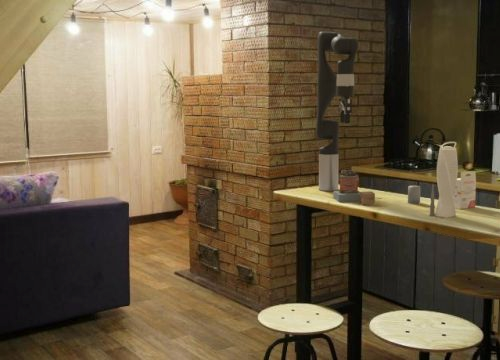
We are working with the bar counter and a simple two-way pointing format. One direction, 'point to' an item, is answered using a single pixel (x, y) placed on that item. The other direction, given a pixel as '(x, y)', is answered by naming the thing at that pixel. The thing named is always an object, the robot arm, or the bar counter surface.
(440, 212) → the skyscraper
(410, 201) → the grey upright block
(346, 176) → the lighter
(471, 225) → the bar counter surface
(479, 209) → the bar counter surface
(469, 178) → the ink cartridge box
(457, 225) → the bar counter surface
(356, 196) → the block
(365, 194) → the walnut block
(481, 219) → the bar counter surface
